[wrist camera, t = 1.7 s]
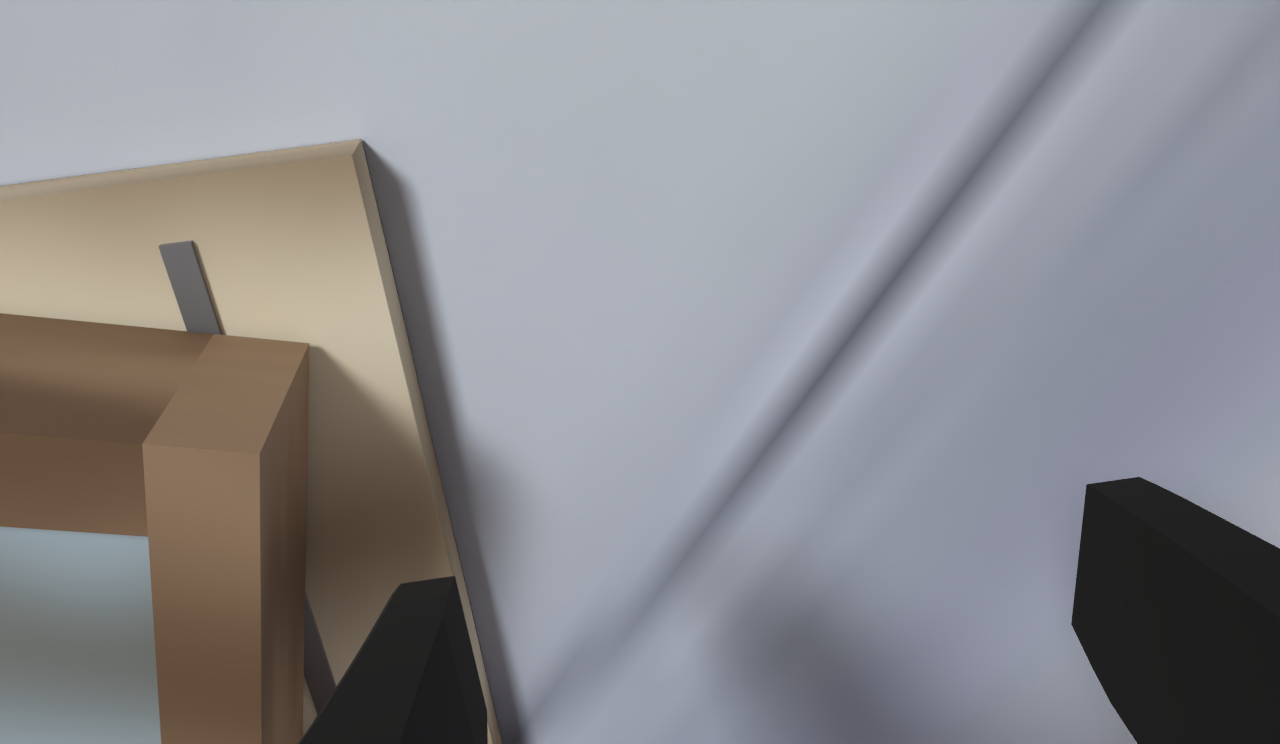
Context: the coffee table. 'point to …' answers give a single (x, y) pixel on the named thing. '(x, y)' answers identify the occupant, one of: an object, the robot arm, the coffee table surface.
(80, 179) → the birch board
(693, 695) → the coffee table surface
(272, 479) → the tan cardboard box
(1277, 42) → the coffee table surface
